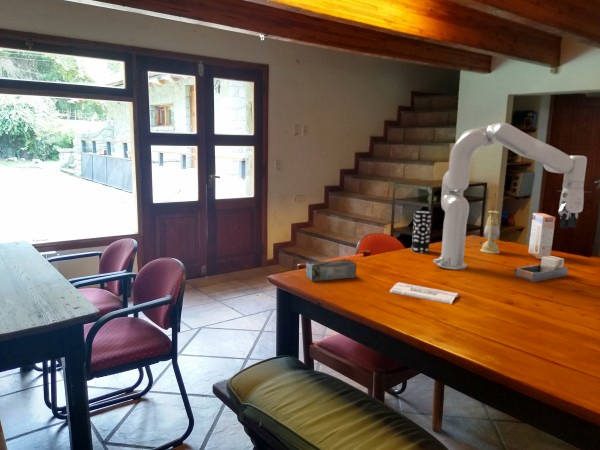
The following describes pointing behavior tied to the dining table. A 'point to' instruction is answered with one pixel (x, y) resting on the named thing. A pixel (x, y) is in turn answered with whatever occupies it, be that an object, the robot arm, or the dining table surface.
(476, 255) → the dining table surface
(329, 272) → the beverage carton
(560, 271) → the grey shallow tray
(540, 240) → the cracker box
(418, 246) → the white-spotted black cylinder
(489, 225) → the lantern
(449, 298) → the newspaper
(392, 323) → the dining table surface
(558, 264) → the block
